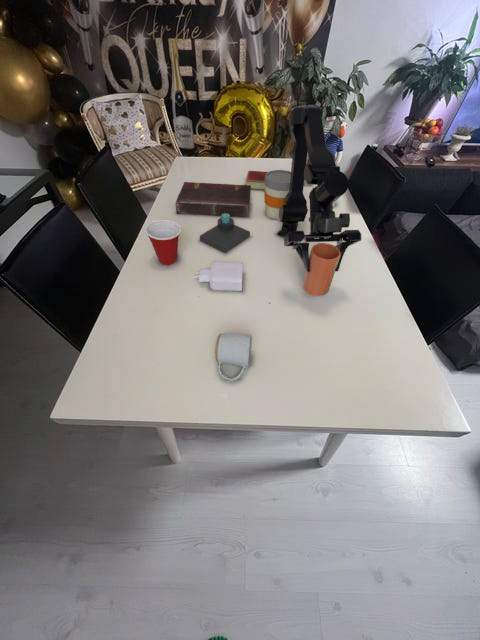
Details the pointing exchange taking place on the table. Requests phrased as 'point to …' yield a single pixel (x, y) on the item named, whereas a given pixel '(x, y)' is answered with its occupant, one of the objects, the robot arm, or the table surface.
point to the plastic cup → (164, 239)
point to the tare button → (225, 218)
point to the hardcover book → (256, 180)
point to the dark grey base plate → (224, 236)
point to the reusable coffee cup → (276, 191)
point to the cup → (321, 269)
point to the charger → (223, 276)
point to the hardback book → (214, 199)
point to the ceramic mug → (233, 351)
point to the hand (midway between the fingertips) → (322, 271)
